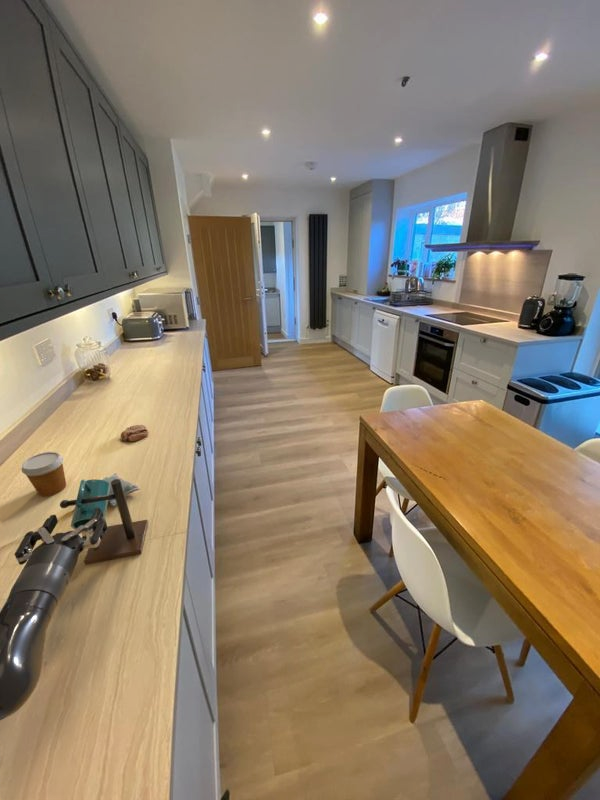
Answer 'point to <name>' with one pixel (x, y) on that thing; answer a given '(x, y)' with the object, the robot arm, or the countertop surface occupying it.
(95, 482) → the mug
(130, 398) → the countertop surface
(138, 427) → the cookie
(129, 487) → the grey bean bag
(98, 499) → the mug stand
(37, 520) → the countertop surface
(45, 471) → the disposable coffee cup
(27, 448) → the countertop surface
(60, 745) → the countertop surface
